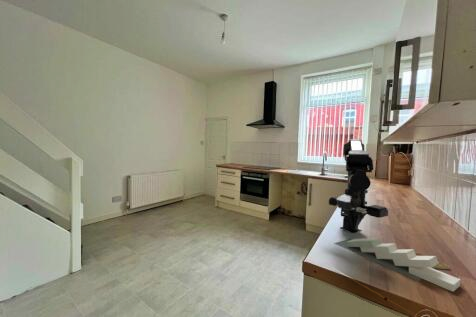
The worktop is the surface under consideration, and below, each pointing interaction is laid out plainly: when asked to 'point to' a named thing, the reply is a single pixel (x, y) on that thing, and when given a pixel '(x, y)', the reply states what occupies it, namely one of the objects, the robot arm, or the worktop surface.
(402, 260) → the ivory domino
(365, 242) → the sage domino
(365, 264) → the worktop surface
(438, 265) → the shard
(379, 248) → the ivory domino
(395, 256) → the ivory domino
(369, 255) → the mat
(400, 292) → the worktop surface
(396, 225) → the worktop surface
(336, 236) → the worktop surface
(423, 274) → the ivory domino
